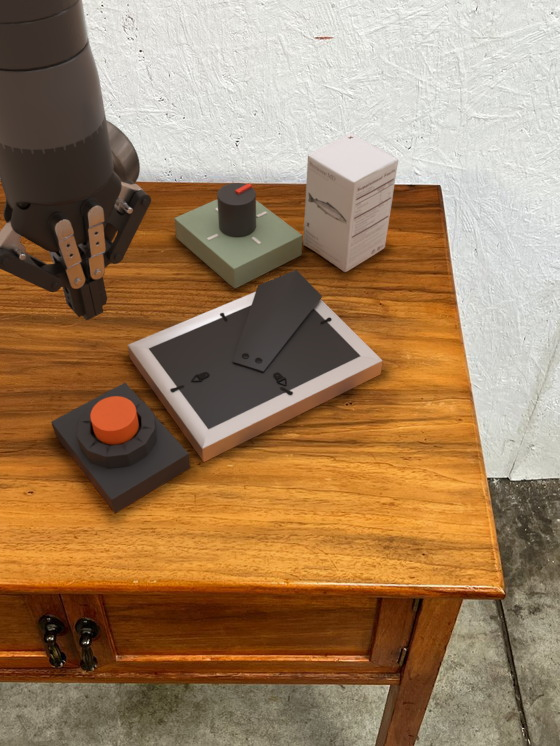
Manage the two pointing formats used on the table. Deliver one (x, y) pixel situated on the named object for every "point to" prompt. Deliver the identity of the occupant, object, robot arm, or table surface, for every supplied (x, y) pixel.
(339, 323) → the picture frame
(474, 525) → the table surface
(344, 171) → the white packaging box
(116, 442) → the orange button cap
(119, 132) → the alarm clock
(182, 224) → the dial panel
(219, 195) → the dial knob
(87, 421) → the button base
